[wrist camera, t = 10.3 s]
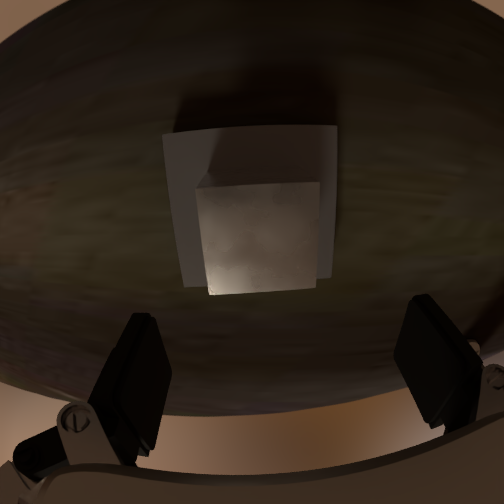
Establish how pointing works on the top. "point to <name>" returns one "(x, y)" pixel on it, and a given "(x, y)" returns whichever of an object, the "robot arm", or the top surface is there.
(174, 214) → the grey block
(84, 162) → the top surface
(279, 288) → the grey cube
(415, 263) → the top surface
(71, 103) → the top surface
